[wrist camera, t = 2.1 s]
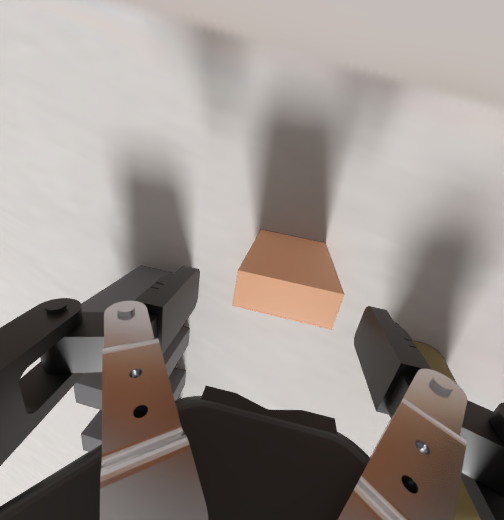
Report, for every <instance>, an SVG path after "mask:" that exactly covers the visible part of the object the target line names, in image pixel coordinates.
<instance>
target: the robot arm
mask: <svg viewBox="0 0 504 520" xmlns="http://www.w3.org/2000/svg"><path fill="white" fill-rule="evenodd" d="M199 277H200V271H199V269H196V268H192V267H187V266H183V267H182V268H181V269H180V270H179V271H177V272H176V273H175V274H173V273H170V274H167V275H165V276H162V277H161V278H160V279H158V280H157V281H156V282H155V283H154V284H153V285H151V286H150V288H148V289H147V290H146V291H145V292H143V293H142V294H141V295H140V296H139V297H138V298H136V299H135V300H134V301H122V302H118V303H115V304H113V305H111V306H109V307H108V308H107V309H106V310H105V312H82V307H81V303H80V302H79V301H77V300H75V299H69V298H61V299H54V300H50V301H46V302H44V303H41V304H39V305H37V306H36V307H34V308H32V309H31V310H29V311H27V312H26V313H24V314H22V315H21V316H19V317H17V318H16V319H14V320H12V321H11V322H9V323H7V324H6V325H4V326H2V327H1V328H0V466H1V465H2V464H3V462H4V461H5V460H6V459H7V458H8V457H9V456H10V455H11V454H12V453H13V451H14V450H15V449H16V448H17V447H18V446H19V445H20V444H21V443H22V442H23V440H24V439H25V438H26V437H27V436H28V435H29V434H30V433H31V432H32V430H33V429H34V428H35V427H36V426H37V425H38V424H39V423H40V422H41V421H42V419H43V418H44V417H45V416H46V415H47V414H48V413H49V412H50V411H51V410H52V408H53V407H54V406H55V405H56V404H57V403H58V402H59V401H60V400H61V398H62V397H63V396H64V395H65V394H66V393H67V392H68V391H69V390H70V389H71V387H72V386H73V385H74V384H75V383H76V382H77V381H78V380H79V379H80V378H81V376H82V375H83V374H84V373H92V372H102V444H101V445H99V446H98V447H96V448H94V449H93V450H91V451H90V452H88V453H86V454H85V455H83V456H81V457H80V458H78V459H77V460H75V461H73V462H72V463H70V464H68V465H67V466H65V467H64V468H62V469H60V470H59V471H57V472H55V473H54V474H52V475H51V476H49V477H47V478H46V479H44V480H42V481H41V482H39V483H38V484H36V485H34V486H33V487H31V488H29V489H28V490H26V491H25V492H23V493H21V494H20V495H18V496H16V497H15V498H13V499H12V500H10V501H8V502H7V503H5V504H3V505H2V506H0V520H453V519H454V513H455V507H456V502H457V496H458V491H459V485H460V479H462V481H463V483H464V486H465V488H466V490H467V492H468V494H469V496H470V498H471V500H472V502H473V504H474V506H475V508H476V510H477V512H478V514H479V516H480V518H481V520H504V403H501V404H499V406H498V407H497V408H496V409H495V411H494V412H493V411H490V410H488V409H486V408H484V407H481V406H479V405H477V404H475V403H472V402H470V401H468V400H467V396H466V394H465V393H464V391H463V390H462V389H461V388H460V387H459V386H458V385H457V384H456V383H455V382H454V381H453V380H451V379H450V378H448V377H447V376H445V375H443V374H441V373H439V372H437V371H434V370H432V369H431V367H430V366H429V364H428V363H427V361H426V360H425V358H424V357H423V355H422V354H421V352H420V351H419V349H417V346H416V345H415V343H414V342H412V339H411V338H410V336H409V335H408V333H407V332H406V331H405V330H404V329H403V328H402V327H401V326H399V325H398V324H397V323H394V321H393V320H392V318H391V316H390V315H389V313H388V312H387V310H384V309H380V308H375V307H370V306H368V307H366V309H365V311H364V313H363V316H362V318H361V321H360V323H359V326H358V328H357V331H356V333H355V338H354V346H355V349H356V352H357V355H358V358H359V361H360V364H361V367H362V370H363V373H364V376H365V379H366V382H367V385H368V388H369V391H370V394H371V397H372V400H373V403H374V406H375V409H376V411H377V412H381V413H385V414H389V415H390V416H391V420H390V422H389V424H388V425H387V427H386V429H385V431H384V433H383V434H382V436H381V438H380V440H379V442H378V444H377V445H376V447H375V449H374V451H373V453H372V455H371V456H370V457H369V456H368V455H367V454H366V453H365V452H364V451H363V450H362V449H361V448H360V447H358V446H357V445H356V444H355V443H354V442H352V441H351V440H350V439H348V438H347V437H345V436H344V435H342V434H340V433H339V432H337V430H336V424H335V419H334V418H330V417H326V416H323V415H319V414H315V413H311V412H307V411H303V410H268V409H265V408H263V407H261V406H260V405H258V404H256V403H254V402H252V401H250V400H248V399H246V398H244V397H242V396H240V395H239V394H237V393H233V392H229V391H225V390H221V389H217V388H213V387H209V386H206V387H205V389H204V392H203V395H202V396H193V397H186V398H182V399H179V400H176V401H175V400H174V396H173V392H172V389H171V385H170V381H169V377H168V373H167V369H166V366H165V362H164V358H163V354H164V352H165V351H166V350H167V348H168V347H169V345H170V344H171V342H172V341H173V339H174V338H175V336H176V335H177V333H178V332H179V330H180V329H181V328H182V326H183V325H184V323H185V322H186V320H187V319H188V317H189V316H190V314H191V313H192V311H193V310H194V308H195V306H196V303H197V299H198V289H199ZM39 357H41V362H40V363H39V364H37V365H36V366H35V367H34V368H33V369H31V370H30V371H29V372H28V373H27V374H26V375H24V376H23V377H22V378H21V376H22V374H23V372H24V371H25V370H26V369H27V367H29V366H30V365H31V364H32V363H33V362H35V361H36V360H37V359H38V358H39ZM20 378H21V379H20Z"/></svg>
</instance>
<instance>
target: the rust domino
mask: <svg viewBox="0 0 504 520" xmlns="http://www.w3.org/2000/svg"><path fill="white" fill-rule="evenodd" d="M343 297H344V292H343V289H342V287H341V284H340V281H339V278H338V276H337V273H336V270H335V267H334V264H333V262H332V259H331V256H330V253H329V251H328V248H327V245H326V243H323V242H318V241H313V240H308V239H304V238H299V237H294V236H289V235H285V234H280V233H275V232H270V231H266V230H260V232H259V234H258V236H257V237H256V239H255V241H254V243H253V245H252V246H251V248H250V250H249V252H248V253H247V255H246V257H245V259H244V260H243V262H242V264H241V266H240V268H239V269H238V274H237V280H236V286H235V292H234V298H233V305H232V306H236V307H240V308H244V309H248V310H252V311H257V312H261V313H265V314H269V315H273V316H277V317H281V318H285V319H290V320H294V321H298V322H302V323H306V324H310V325H314V326H318V327H322V328H327V329H331V330H332V327H333V325H334V322H335V319H336V316H337V313H338V311H339V308H340V305H341V302H342V300H343Z"/></svg>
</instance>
